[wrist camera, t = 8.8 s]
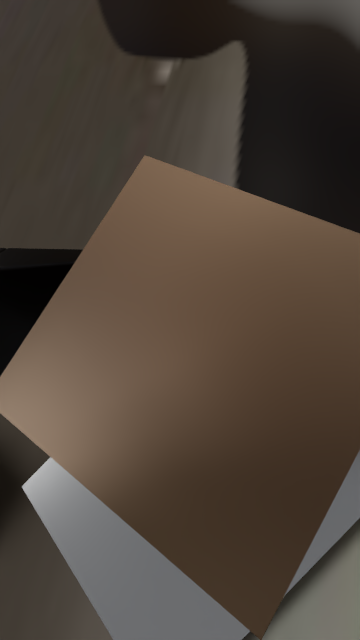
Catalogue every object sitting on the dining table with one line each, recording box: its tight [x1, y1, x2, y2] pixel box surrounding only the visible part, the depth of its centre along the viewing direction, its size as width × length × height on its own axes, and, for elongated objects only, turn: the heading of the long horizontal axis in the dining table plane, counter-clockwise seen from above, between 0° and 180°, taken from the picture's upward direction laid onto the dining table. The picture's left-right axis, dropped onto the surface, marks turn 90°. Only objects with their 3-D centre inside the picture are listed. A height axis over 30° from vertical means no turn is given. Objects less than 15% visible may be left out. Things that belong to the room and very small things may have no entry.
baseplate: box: [22, 450, 360, 640], centre depth 17 cm, size 16×12×2 cm
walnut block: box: [0, 156, 360, 640], centre depth 10 cm, size 4×4×13 cm
